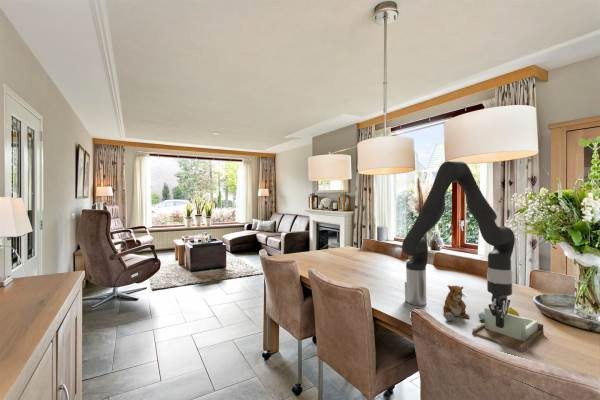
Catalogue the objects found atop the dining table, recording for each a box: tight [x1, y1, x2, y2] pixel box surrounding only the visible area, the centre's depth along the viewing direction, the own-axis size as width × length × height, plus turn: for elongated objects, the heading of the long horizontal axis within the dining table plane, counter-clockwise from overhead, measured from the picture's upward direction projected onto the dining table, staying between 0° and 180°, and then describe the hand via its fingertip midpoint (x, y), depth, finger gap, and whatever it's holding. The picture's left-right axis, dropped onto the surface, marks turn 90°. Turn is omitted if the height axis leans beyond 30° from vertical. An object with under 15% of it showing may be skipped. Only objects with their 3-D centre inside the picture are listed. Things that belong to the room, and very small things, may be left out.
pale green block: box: [483, 306, 539, 341], centre depth 109 cm, size 13×13×8 cm
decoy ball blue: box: [478, 311, 485, 322], centre depth 120 cm, size 4×4×4 cm
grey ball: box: [444, 313, 455, 322], centre depth 120 cm, size 4×4×4 cm
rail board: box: [471, 322, 545, 353], centre depth 107 cm, size 16×21×4 cm
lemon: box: [507, 306, 520, 317], centre depth 109 cm, size 6×6×8 cm
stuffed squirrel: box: [442, 284, 470, 319], centre depth 128 cm, size 10×14×13 cm
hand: (499, 326), depth 104 cm, fingers closed
